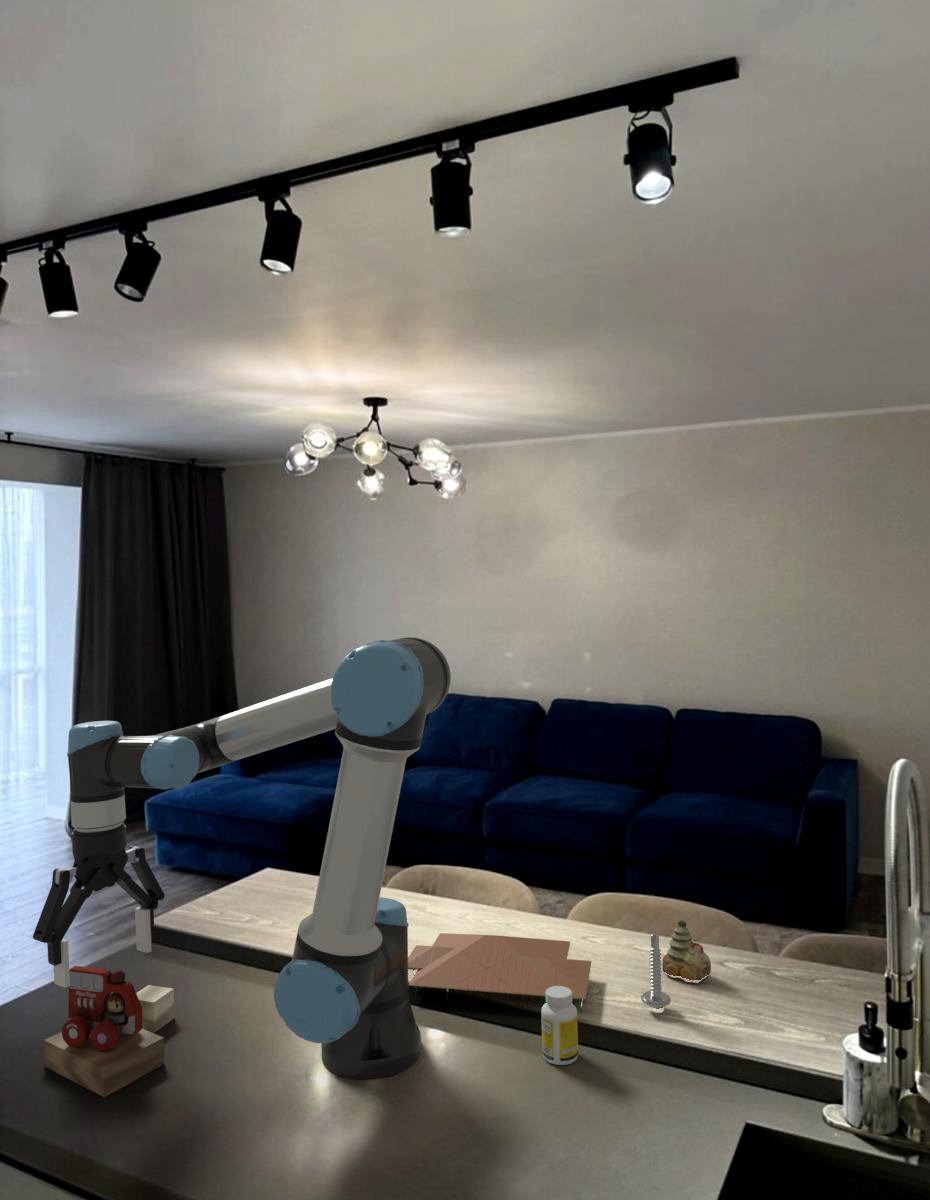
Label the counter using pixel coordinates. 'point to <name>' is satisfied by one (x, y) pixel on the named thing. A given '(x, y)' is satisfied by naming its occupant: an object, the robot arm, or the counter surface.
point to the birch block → (156, 1007)
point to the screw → (655, 978)
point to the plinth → (105, 1060)
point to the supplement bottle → (559, 1027)
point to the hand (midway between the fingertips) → (104, 967)
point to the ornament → (686, 956)
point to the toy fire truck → (100, 1008)
